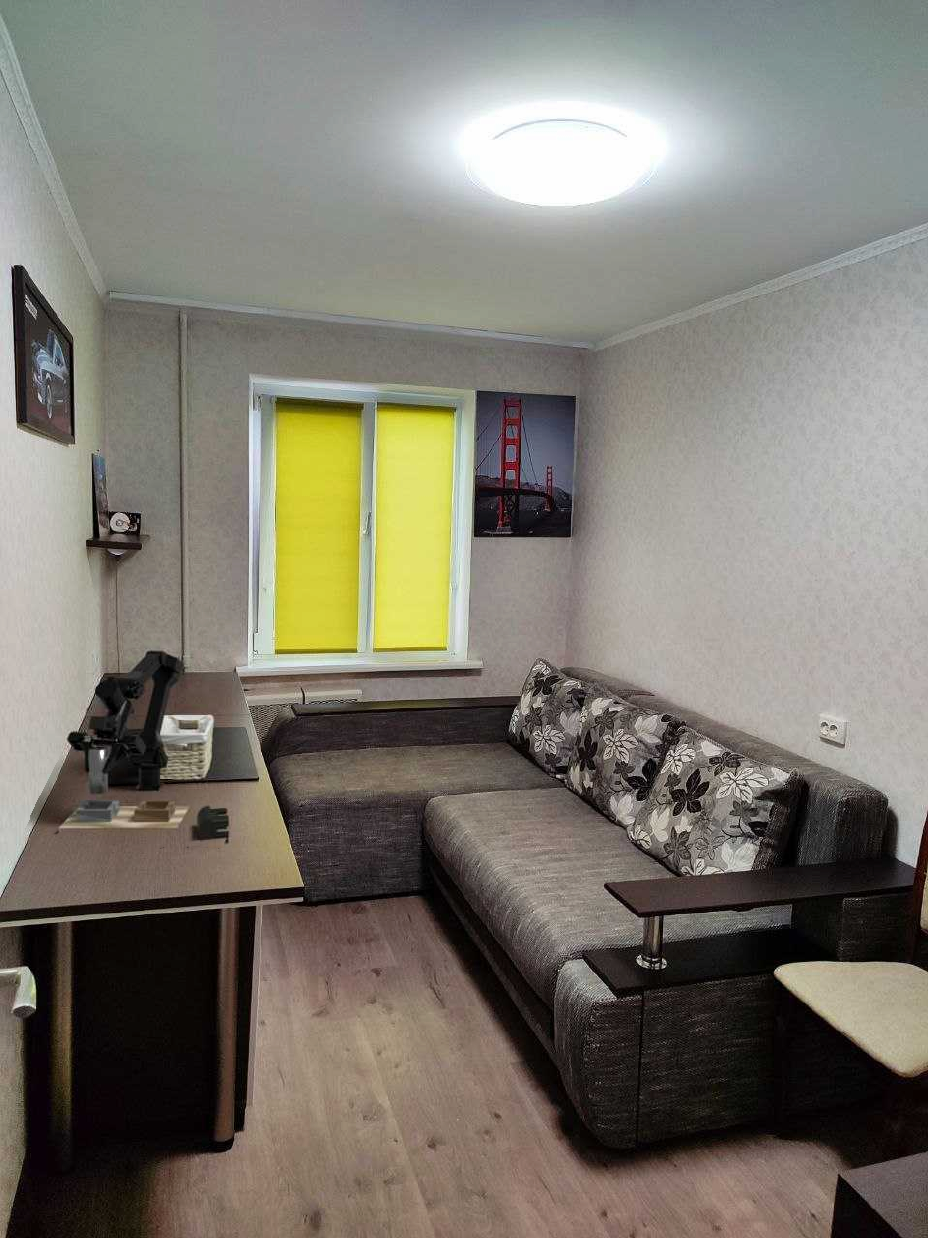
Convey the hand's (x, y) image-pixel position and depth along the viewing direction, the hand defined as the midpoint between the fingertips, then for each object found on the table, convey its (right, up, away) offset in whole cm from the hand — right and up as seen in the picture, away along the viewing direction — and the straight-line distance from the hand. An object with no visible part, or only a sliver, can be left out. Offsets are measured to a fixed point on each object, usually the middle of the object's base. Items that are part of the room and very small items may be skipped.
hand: (95, 772), depth 223 cm
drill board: (+6, -13, +4) cm, 15 cm away
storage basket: (+6, -8, +50) cm, 51 cm away
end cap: (+30, -16, -4) cm, 35 cm away
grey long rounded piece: (0, -5, +2) cm, 5 cm away
